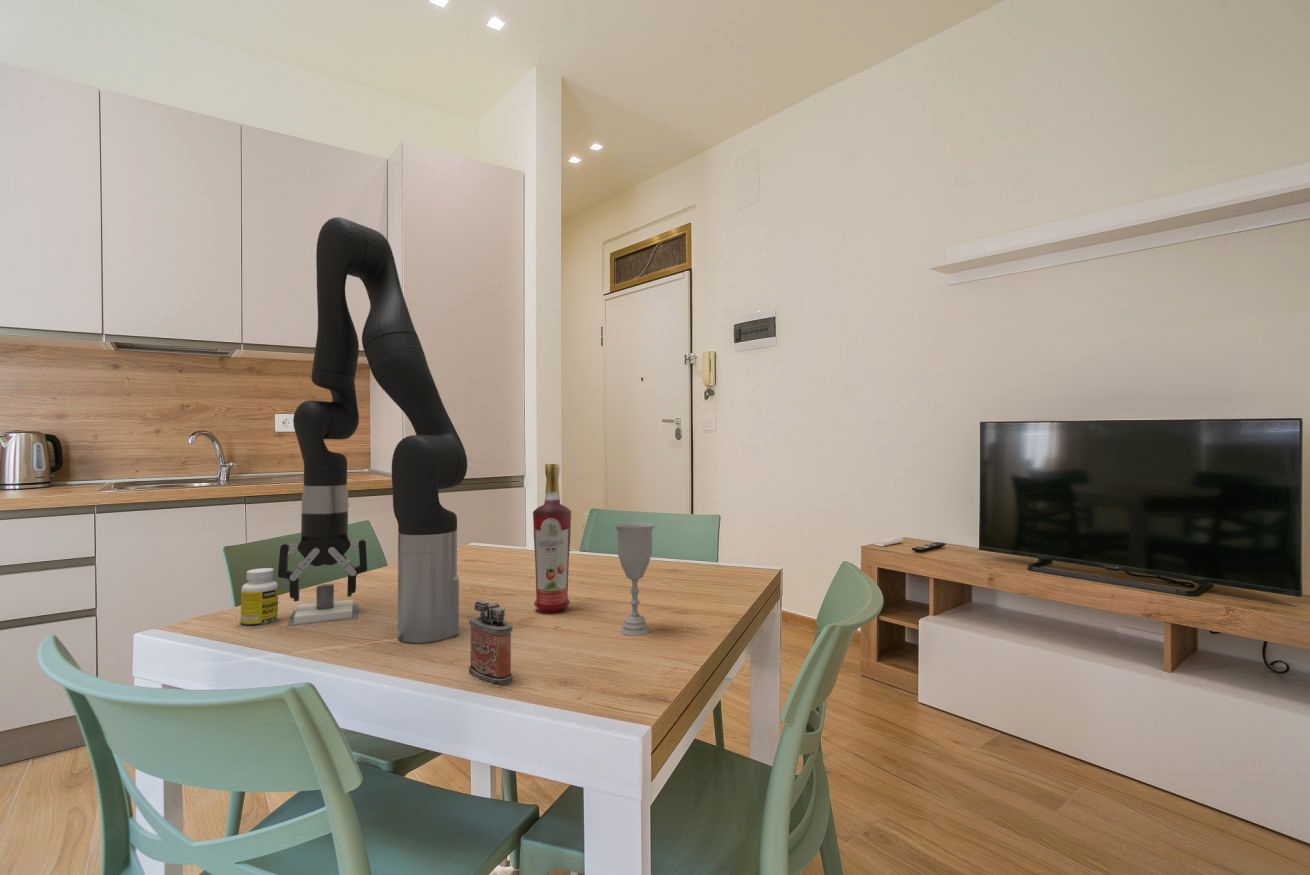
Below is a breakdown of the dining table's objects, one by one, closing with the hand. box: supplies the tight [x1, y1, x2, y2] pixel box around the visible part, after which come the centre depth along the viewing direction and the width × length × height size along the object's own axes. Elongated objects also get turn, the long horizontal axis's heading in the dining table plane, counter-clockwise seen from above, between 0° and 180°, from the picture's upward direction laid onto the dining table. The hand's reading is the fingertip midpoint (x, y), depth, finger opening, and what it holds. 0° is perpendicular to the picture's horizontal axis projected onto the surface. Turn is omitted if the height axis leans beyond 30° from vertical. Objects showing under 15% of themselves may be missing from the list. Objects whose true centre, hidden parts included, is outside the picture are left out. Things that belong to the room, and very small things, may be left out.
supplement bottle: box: [240, 567, 279, 629], centre depth 105 cm, size 5×5×10 cm
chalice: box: [614, 521, 656, 636], centre depth 102 cm, size 7×7×18 cm
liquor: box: [532, 463, 572, 614], centre depth 115 cm, size 7×7×28 cm
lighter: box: [468, 599, 513, 686], centre depth 82 cm, size 8×3×10 cm, turn 48°
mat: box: [286, 603, 360, 628], centre depth 110 cm, size 11×11×1 cm
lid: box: [294, 583, 354, 624], centre depth 110 cm, size 9×9×5 cm
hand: (323, 597), depth 110 cm, fingers open, 8 cm apart
